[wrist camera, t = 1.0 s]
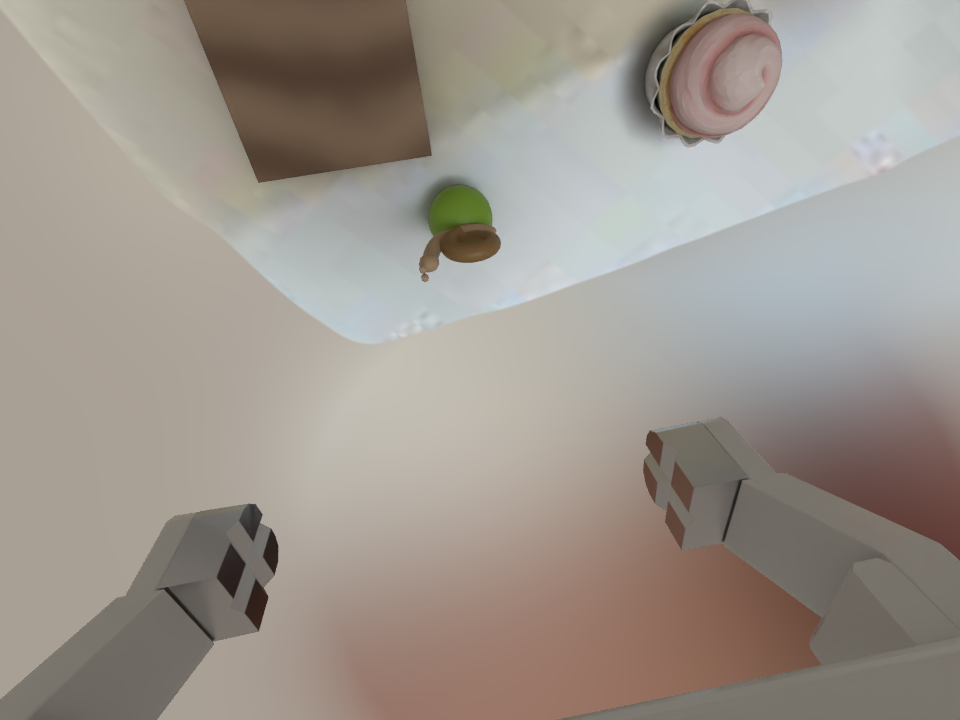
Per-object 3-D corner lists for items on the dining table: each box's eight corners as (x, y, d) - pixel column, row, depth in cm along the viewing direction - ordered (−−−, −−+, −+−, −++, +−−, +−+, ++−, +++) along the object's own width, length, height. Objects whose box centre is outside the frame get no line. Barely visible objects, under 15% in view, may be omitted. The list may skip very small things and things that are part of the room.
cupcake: (710, 140, 40) (786, 170, 32) (611, 129, 38) (665, 158, 30) (762, 6, 34) (869, 3, 26) (648, -13, 32) (726, -24, 24)
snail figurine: (410, 184, 38) (411, 238, 29) (483, 172, 39) (508, 221, 29) (423, 243, 42) (427, 309, 32) (490, 232, 42) (514, 294, 32)
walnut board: (170, -52, 28) (162, -54, 27) (391, -83, 29) (390, -86, 28) (262, 178, 37) (258, 182, 36) (431, 152, 37) (431, 155, 36)
